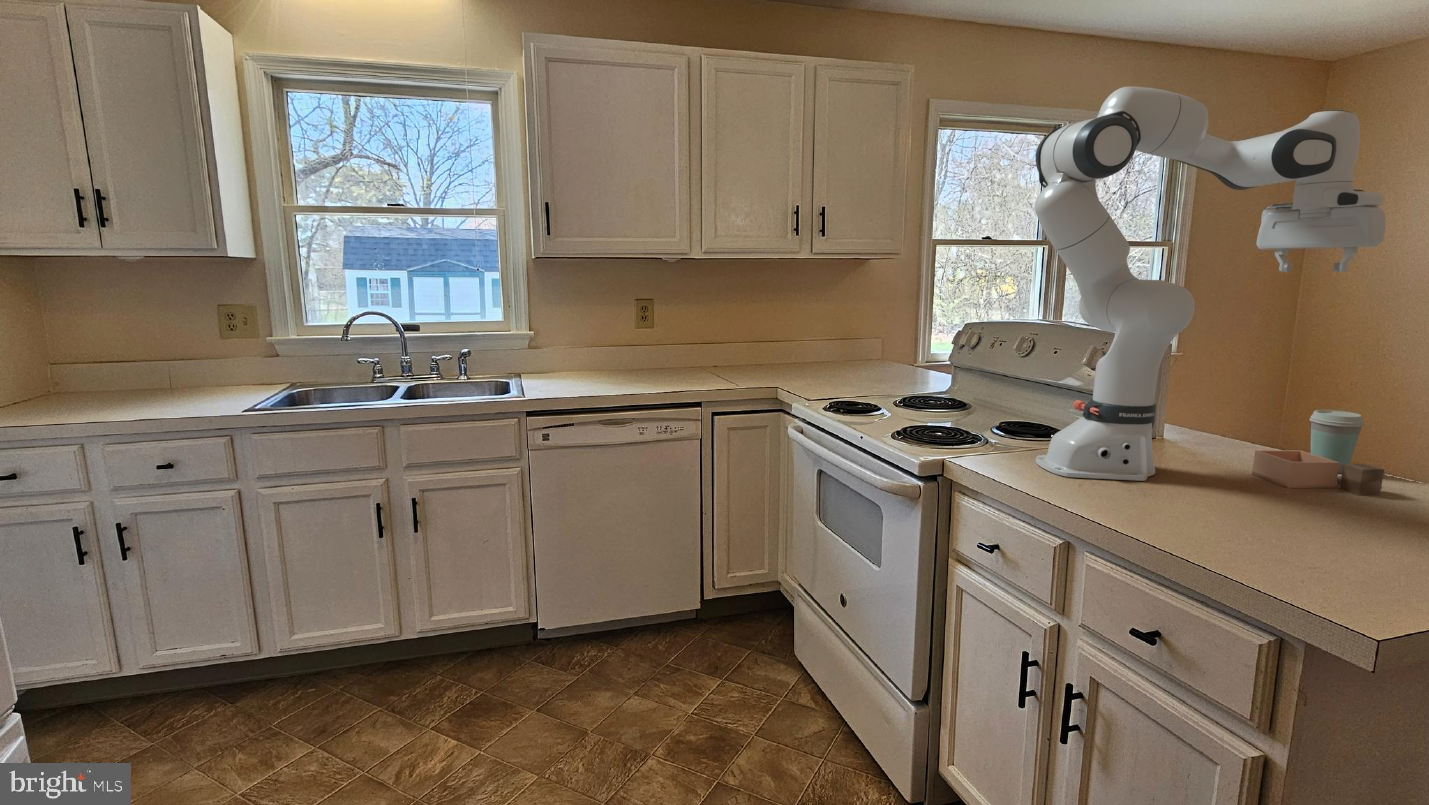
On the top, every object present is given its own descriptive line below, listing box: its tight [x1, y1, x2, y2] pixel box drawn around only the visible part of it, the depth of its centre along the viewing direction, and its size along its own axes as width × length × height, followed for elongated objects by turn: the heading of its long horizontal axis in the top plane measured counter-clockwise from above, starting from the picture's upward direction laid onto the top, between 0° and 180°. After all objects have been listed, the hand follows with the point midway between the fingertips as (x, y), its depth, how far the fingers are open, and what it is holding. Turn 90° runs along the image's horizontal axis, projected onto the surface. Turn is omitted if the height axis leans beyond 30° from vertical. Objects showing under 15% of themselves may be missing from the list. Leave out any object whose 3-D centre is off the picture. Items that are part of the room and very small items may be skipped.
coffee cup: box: [1309, 409, 1365, 474], centre depth 148 cm, size 9×8×12 cm
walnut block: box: [1339, 463, 1385, 496], centre depth 134 cm, size 4×4×5 cm
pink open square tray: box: [1251, 449, 1340, 489], centre depth 140 cm, size 9×9×5 cm
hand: (1311, 272), depth 142 cm, fingers open, 8 cm apart
